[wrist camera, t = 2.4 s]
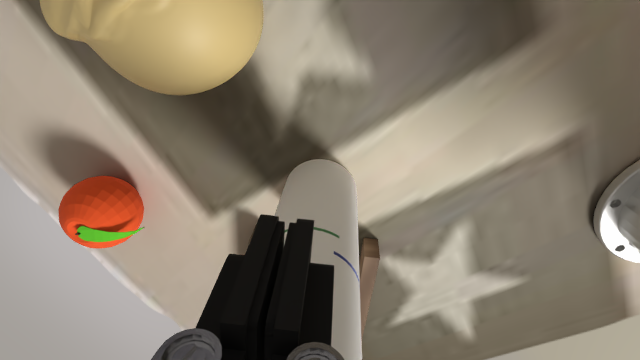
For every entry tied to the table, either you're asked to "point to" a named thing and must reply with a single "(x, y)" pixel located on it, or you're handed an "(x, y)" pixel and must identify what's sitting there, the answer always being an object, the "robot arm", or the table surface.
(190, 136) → the table surface
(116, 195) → the clementine
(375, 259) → the cradle rails
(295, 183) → the cylindrical container
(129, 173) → the table surface
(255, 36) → the pale yellow lumpy blob
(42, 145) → the table surface
